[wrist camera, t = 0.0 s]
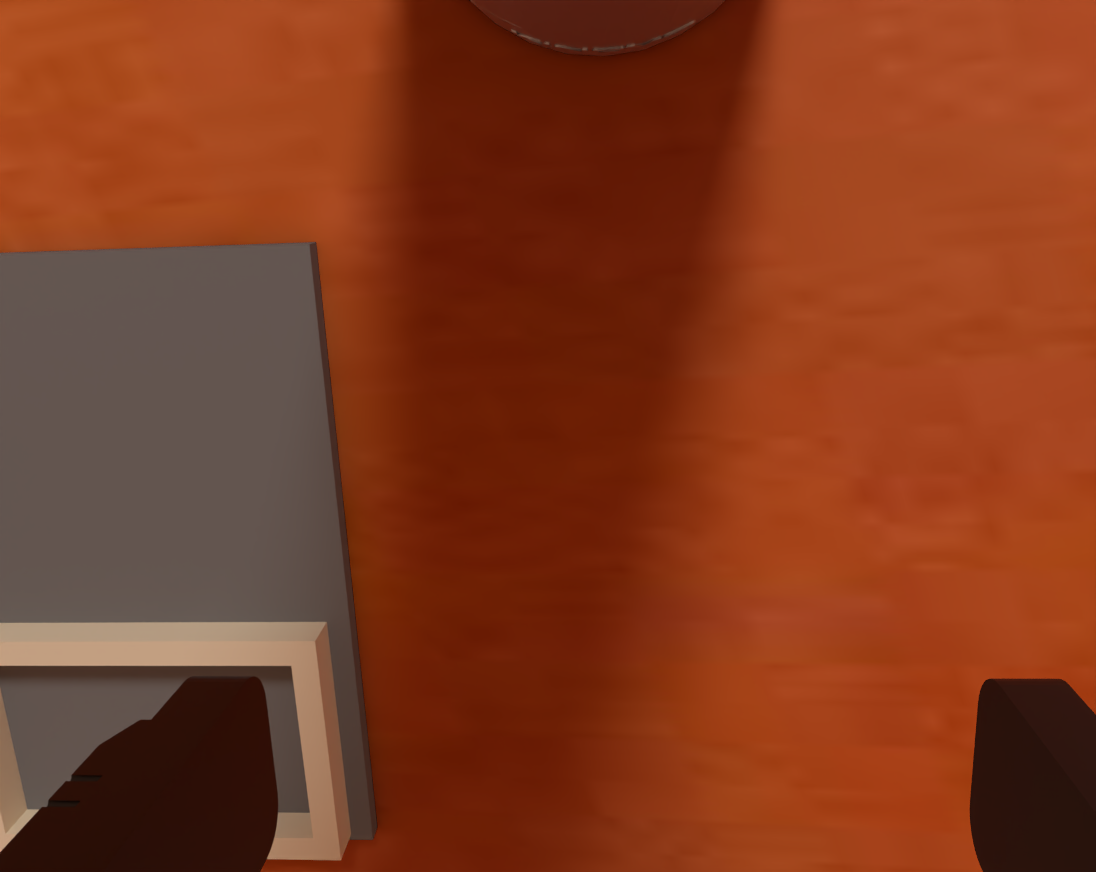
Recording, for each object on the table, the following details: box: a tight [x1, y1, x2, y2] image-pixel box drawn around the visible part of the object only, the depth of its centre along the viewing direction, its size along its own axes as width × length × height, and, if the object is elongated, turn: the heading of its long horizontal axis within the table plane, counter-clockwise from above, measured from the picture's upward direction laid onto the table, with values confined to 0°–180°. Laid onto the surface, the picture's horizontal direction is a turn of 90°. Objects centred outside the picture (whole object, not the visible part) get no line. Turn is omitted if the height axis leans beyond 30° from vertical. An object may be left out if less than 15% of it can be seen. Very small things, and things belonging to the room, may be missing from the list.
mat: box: [0, 242, 377, 860], centre depth 29 cm, size 19×17×2 cm
